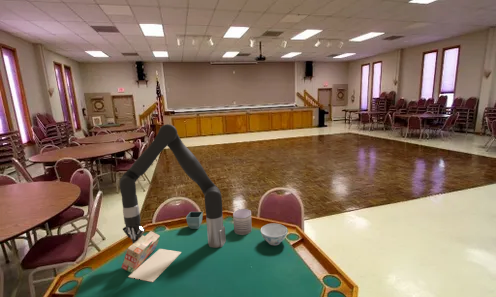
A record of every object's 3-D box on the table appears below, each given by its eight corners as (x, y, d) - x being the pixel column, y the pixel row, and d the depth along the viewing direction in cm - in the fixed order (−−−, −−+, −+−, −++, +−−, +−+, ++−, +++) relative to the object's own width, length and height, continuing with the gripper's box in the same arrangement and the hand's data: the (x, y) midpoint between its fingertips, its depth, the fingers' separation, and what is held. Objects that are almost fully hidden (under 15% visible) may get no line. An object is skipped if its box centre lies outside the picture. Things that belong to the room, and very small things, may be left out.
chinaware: (285, 234, 153) (284, 222, 152) (289, 248, 138) (289, 235, 137) (260, 236, 153) (259, 224, 151) (262, 250, 138) (261, 237, 137)
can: (255, 229, 161) (254, 211, 159) (243, 236, 153) (242, 218, 151) (242, 224, 169) (241, 207, 167) (230, 231, 160) (229, 213, 158)
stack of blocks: (146, 244, 145) (152, 226, 142) (155, 249, 144) (162, 231, 141) (120, 267, 124) (127, 247, 121) (132, 273, 124) (139, 253, 121)
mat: (181, 252, 140) (181, 252, 140) (152, 282, 117) (152, 281, 117) (159, 249, 144) (159, 248, 144) (128, 277, 122) (128, 276, 121)
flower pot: (191, 224, 173) (190, 211, 171) (203, 224, 172) (202, 211, 170) (186, 230, 164) (185, 217, 162) (200, 230, 163) (199, 217, 162)
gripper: (147, 211, 131) (151, 242, 134) (126, 209, 135) (131, 239, 138) (136, 218, 124) (141, 250, 127) (115, 215, 128) (120, 247, 131)
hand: (135, 244), depth 133 cm, fingers closed
